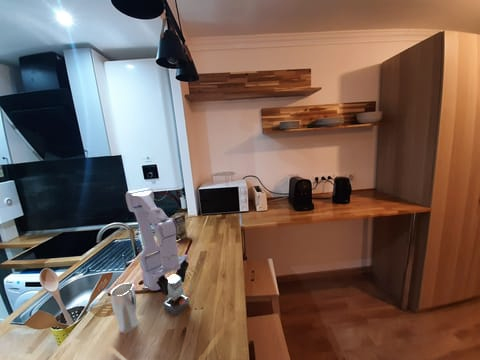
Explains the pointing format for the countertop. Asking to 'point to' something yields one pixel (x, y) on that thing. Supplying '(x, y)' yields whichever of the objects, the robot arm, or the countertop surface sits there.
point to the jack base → (176, 310)
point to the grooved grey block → (174, 287)
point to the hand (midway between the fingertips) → (174, 287)
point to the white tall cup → (124, 306)
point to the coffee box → (180, 226)
